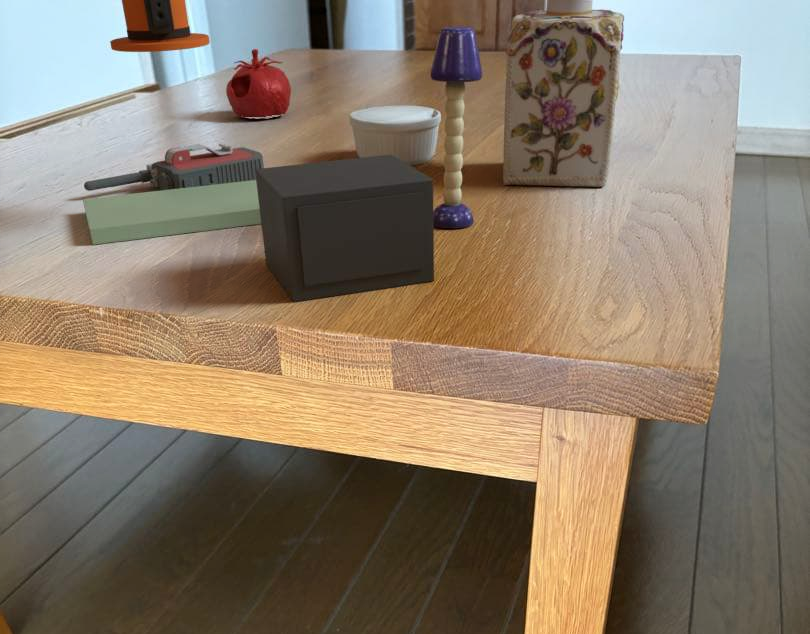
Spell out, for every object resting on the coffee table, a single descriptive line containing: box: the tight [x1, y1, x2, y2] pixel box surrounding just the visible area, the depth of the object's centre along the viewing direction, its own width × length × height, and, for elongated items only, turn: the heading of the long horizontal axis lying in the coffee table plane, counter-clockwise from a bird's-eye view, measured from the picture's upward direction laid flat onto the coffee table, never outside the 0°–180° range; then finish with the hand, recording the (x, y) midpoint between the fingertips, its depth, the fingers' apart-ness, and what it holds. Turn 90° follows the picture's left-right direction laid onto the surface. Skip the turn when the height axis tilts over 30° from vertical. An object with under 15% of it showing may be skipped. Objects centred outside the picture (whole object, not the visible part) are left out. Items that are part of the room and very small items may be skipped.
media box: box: [255, 155, 435, 303], centre depth 73 cm, size 12×10×8 cm
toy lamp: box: [430, 26, 483, 229], centre depth 82 cm, size 5×5×17 cm
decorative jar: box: [502, 0, 625, 188], centre depth 96 cm, size 12×12×18 cm
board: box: [82, 180, 261, 246], centre depth 91 cm, size 20×12×2 cm, turn 110°
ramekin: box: [349, 105, 442, 167], centre depth 109 cm, size 11×11×5 cm
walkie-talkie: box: [83, 142, 265, 192], centre depth 100 cm, size 9×4×20 cm
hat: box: [109, 0, 211, 53], centre depth 81 cm, size 9×9×6 cm
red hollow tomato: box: [225, 48, 292, 117], centre depth 135 cm, size 10×10×9 cm
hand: (157, 29), depth 82 cm, fingers closed on hat, 5 cm apart
